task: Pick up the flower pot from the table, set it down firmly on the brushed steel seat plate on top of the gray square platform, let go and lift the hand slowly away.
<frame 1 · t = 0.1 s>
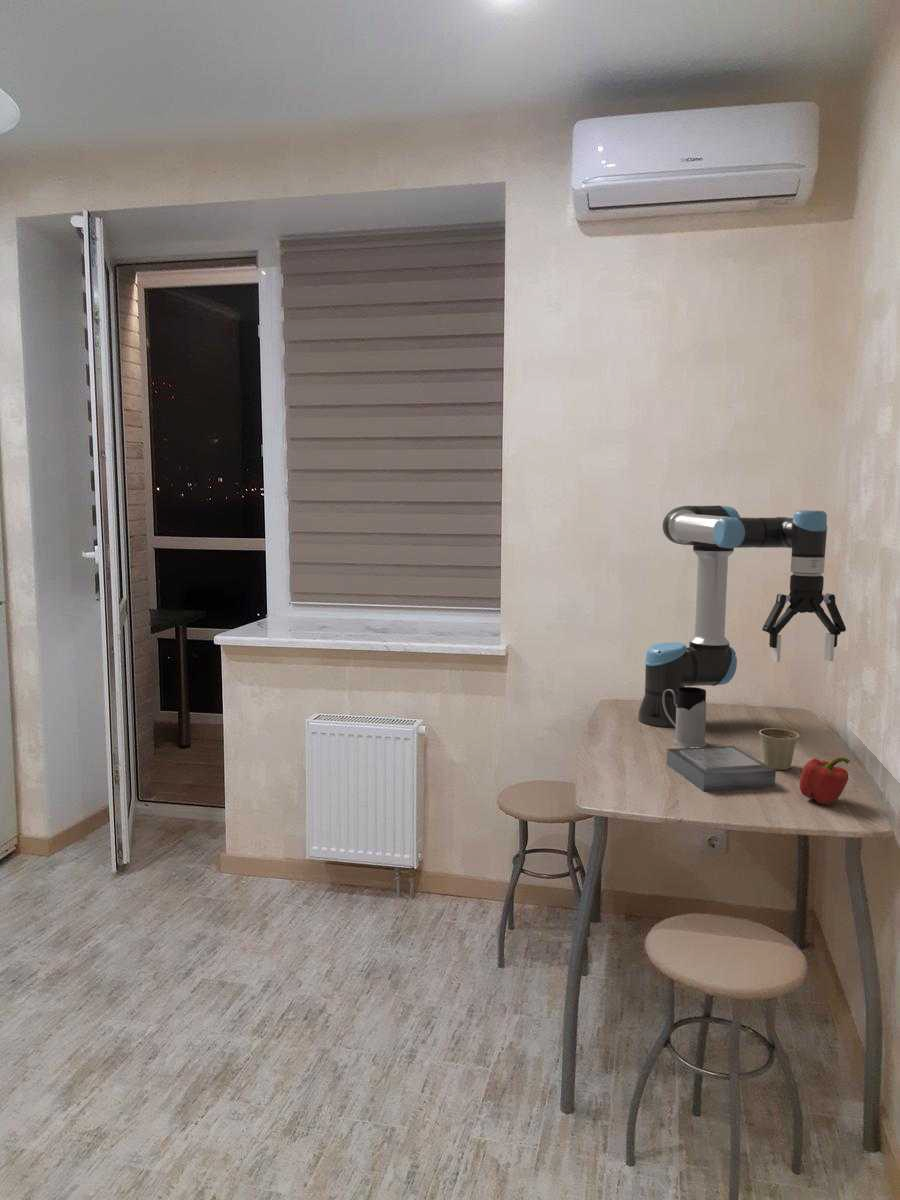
hand: (802, 660, 210), 28 cm above the table, tool pointing down, fingers open, 13 cm apart
gray square platform: (718, 775, 209), on the table
flower pot: (777, 767, 216), on the table
grey pitcher: (681, 741, 238), on the table
vegetable: (823, 801, 192), on the table
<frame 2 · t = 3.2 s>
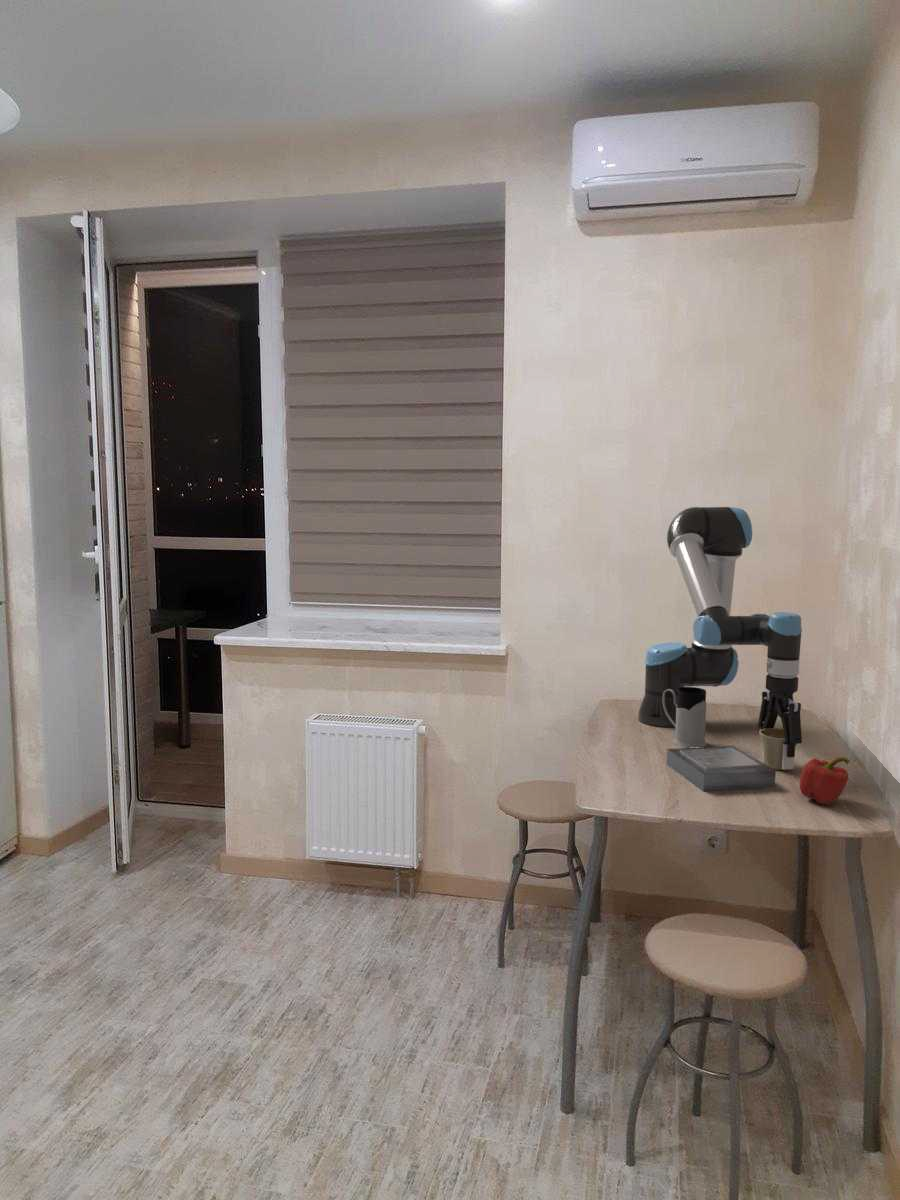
hand: (777, 763, 216), 1 cm above the table, tool pointing down, fingers closed on flower pot, 8 cm apart
flower pot: (777, 767, 216), on the table, touching gripper
everything else where it was.
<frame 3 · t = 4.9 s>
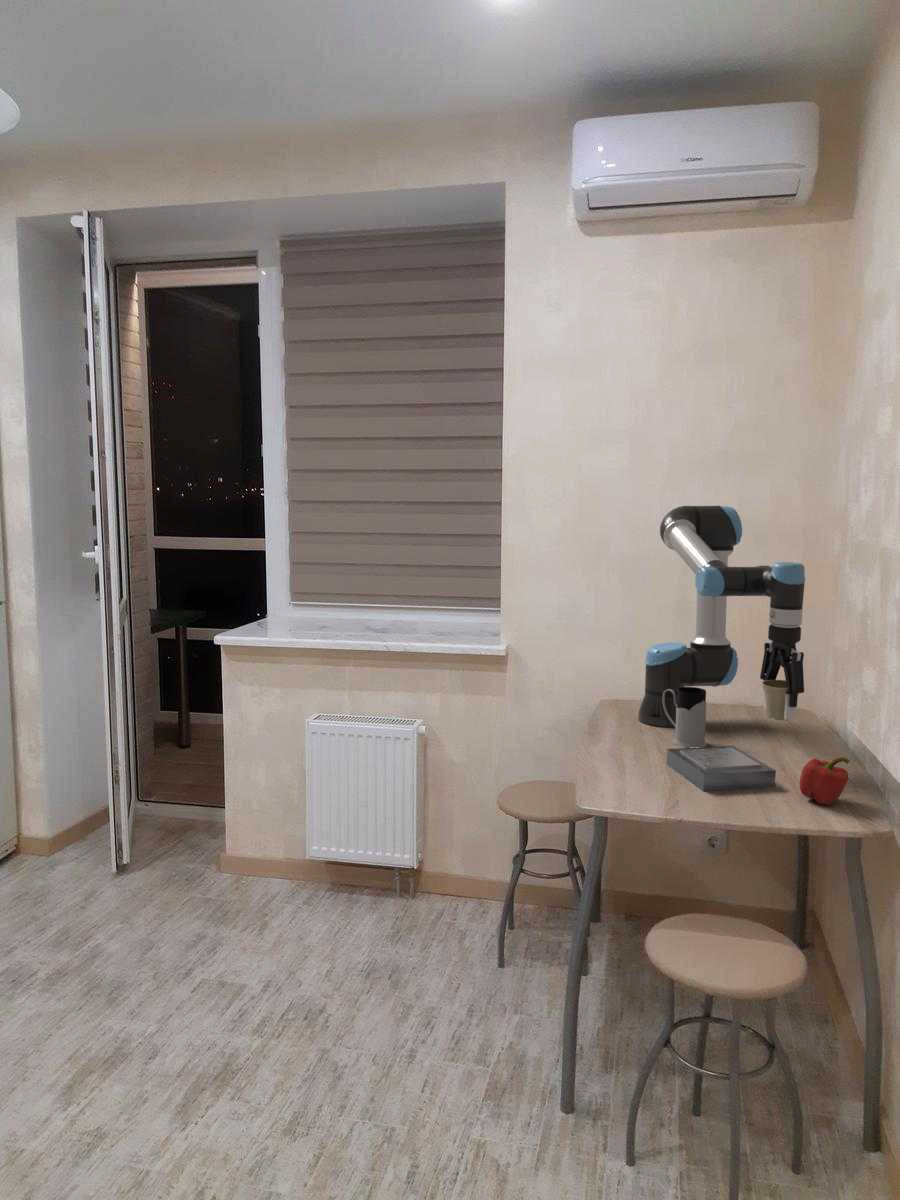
hand: (779, 714, 215), 13 cm above the table, tool pointing down, fingers closed on flower pot, 8 cm apart
flower pot: (779, 718, 215), point 12 cm above the table, touching gripper
everything else where it was.
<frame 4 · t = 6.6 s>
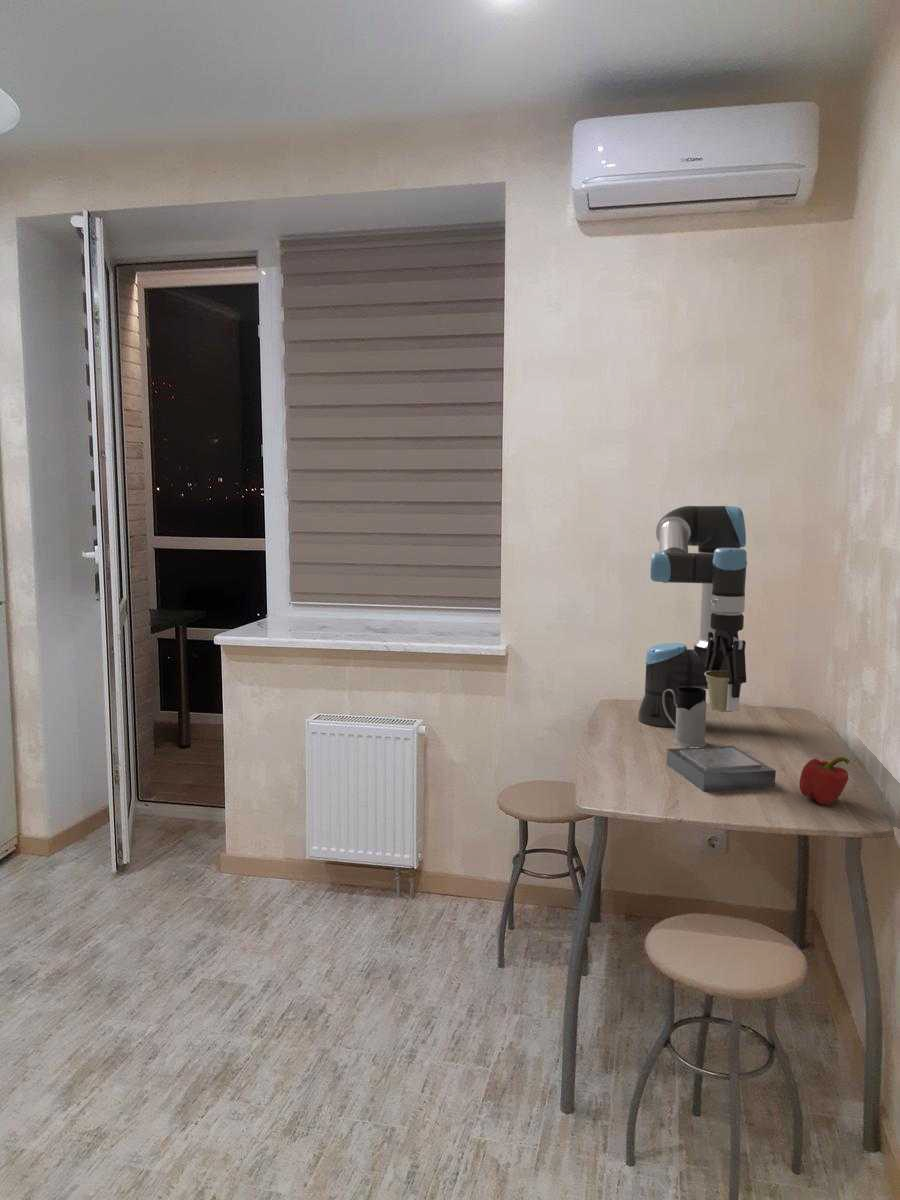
hand: (723, 705, 207), 17 cm above the table, tool pointing down, fingers closed on flower pot, 8 cm apart
flower pot: (723, 710, 207), point 16 cm above the table, touching gripper
everything else where it was.
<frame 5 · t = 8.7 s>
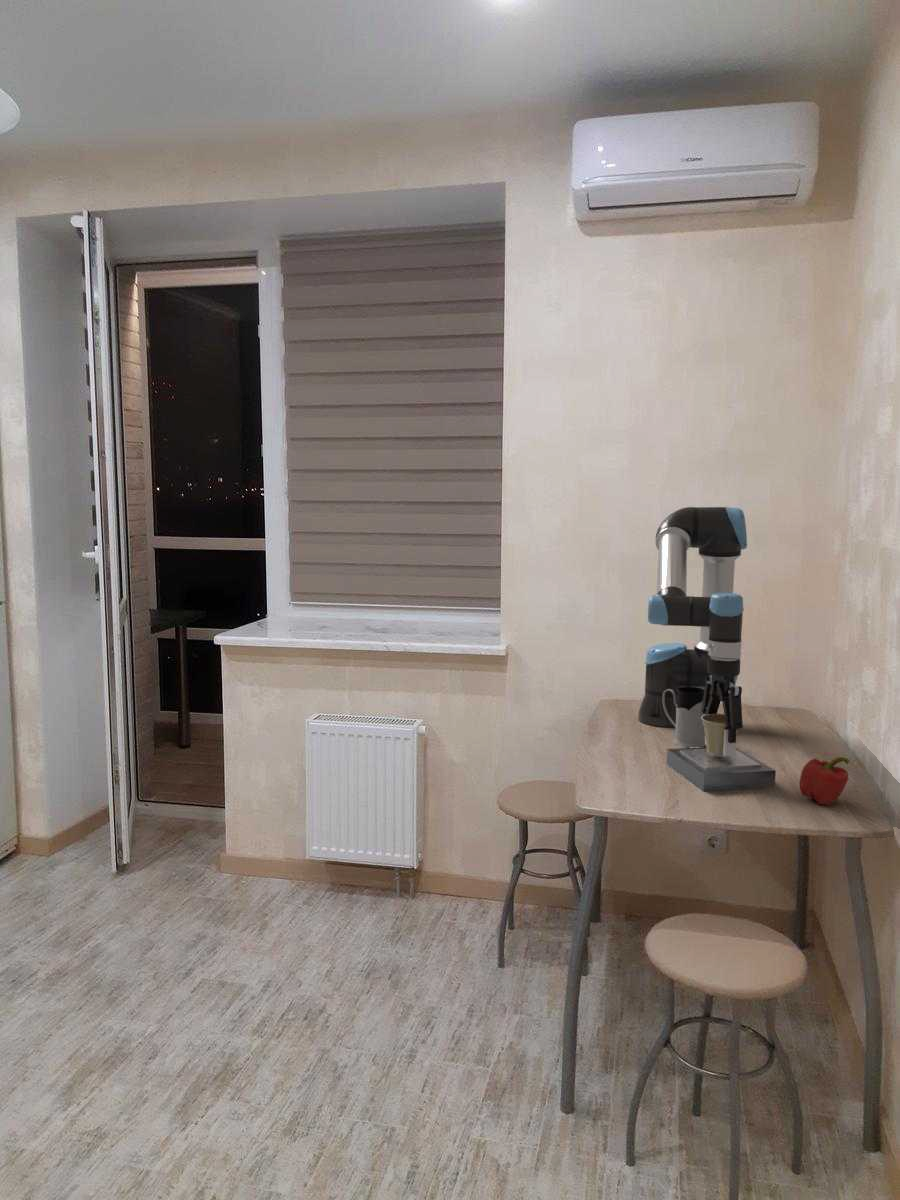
hand: (719, 749, 208), 6 cm above the table, tool pointing down, fingers closed on flower pot, 8 cm apart
flower pot: (719, 754, 208), point 5 cm above the table, touching gripper
everything else where it was.
when the fingers open (5 cm above the table, at t = 10.2 s): flower pot stays where it is, resting on gray square platform.
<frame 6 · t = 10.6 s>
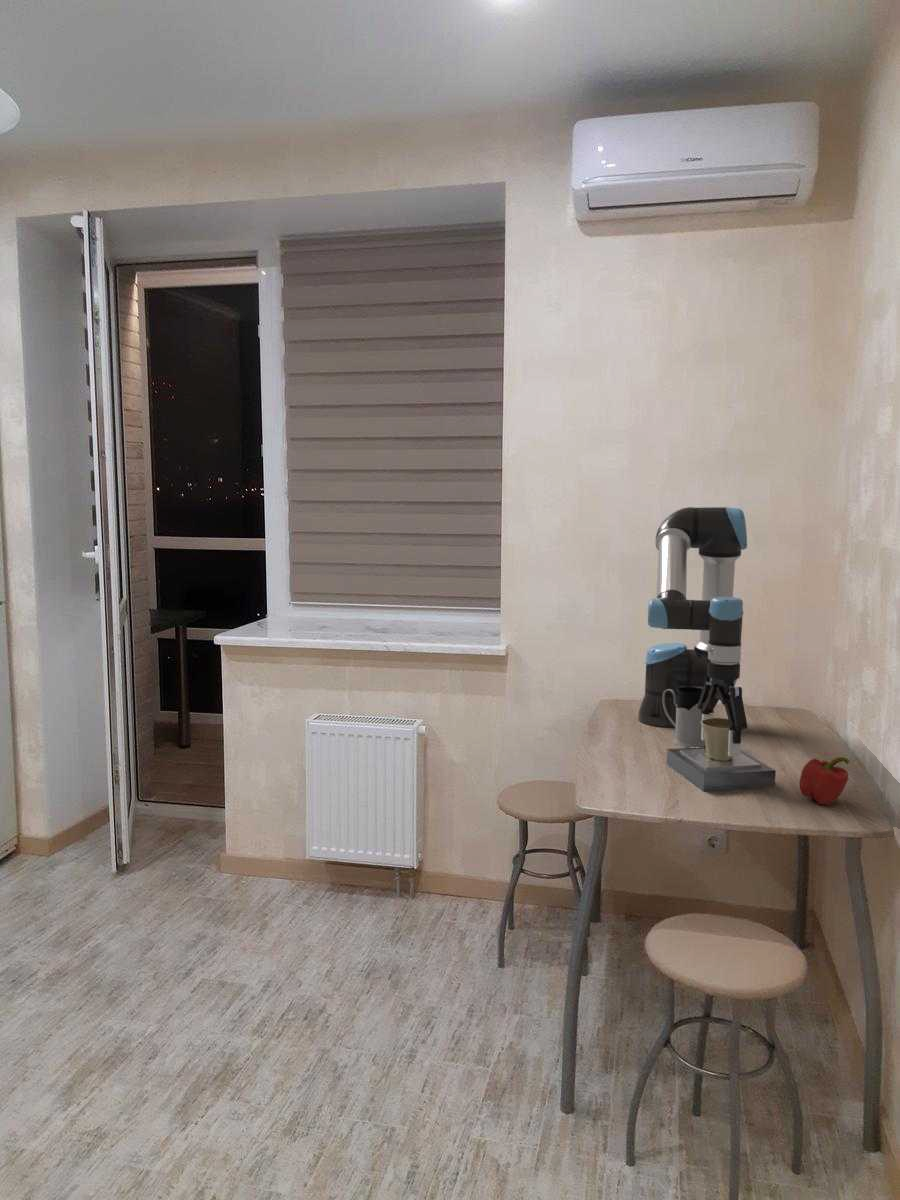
hand: (719, 747, 208), 7 cm above the table, tool pointing down, fingers open, 13 cm apart
flower pot: (719, 758, 208), point 4 cm above the table, touching gray square platform
everything else where it was.
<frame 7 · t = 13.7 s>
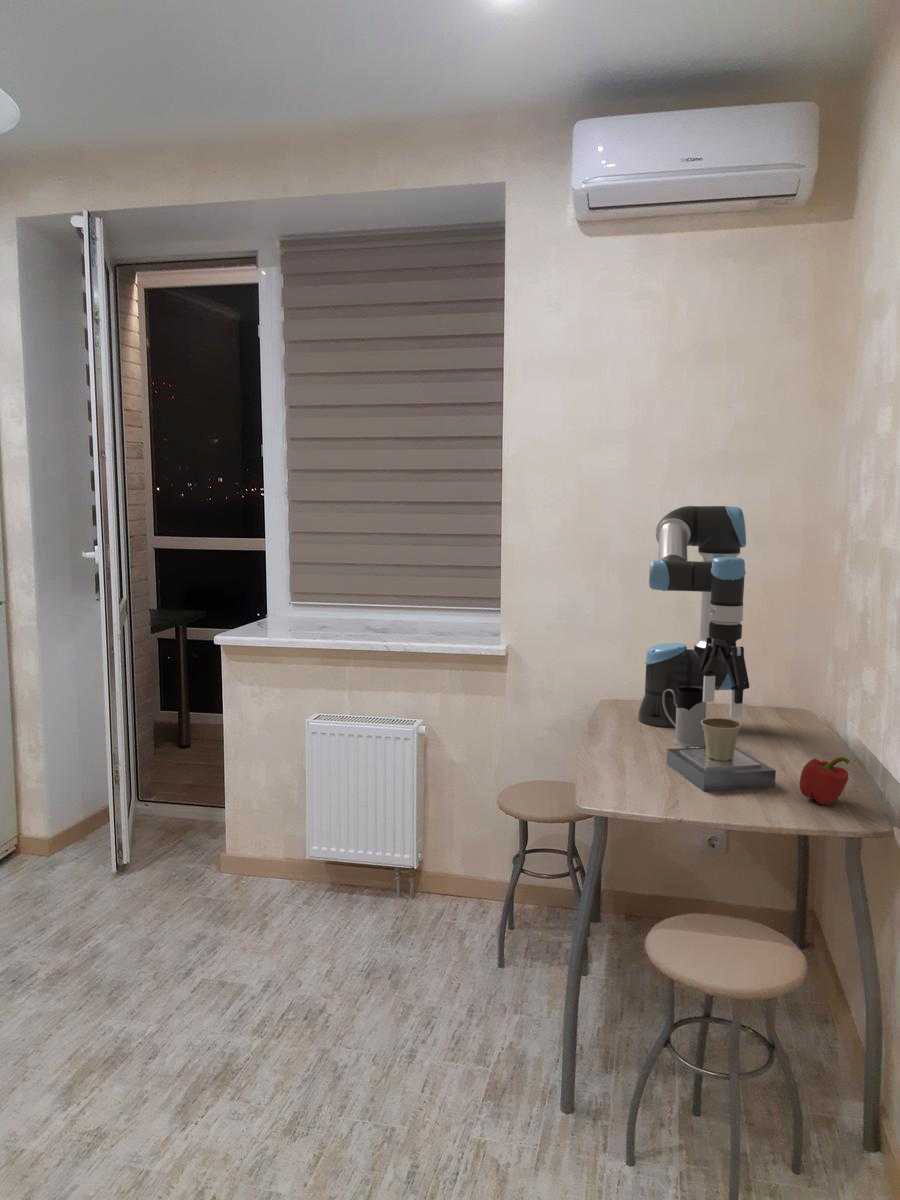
hand: (721, 708, 207), 17 cm above the table, tool pointing down, fingers open, 13 cm apart
nothing on the table moved.
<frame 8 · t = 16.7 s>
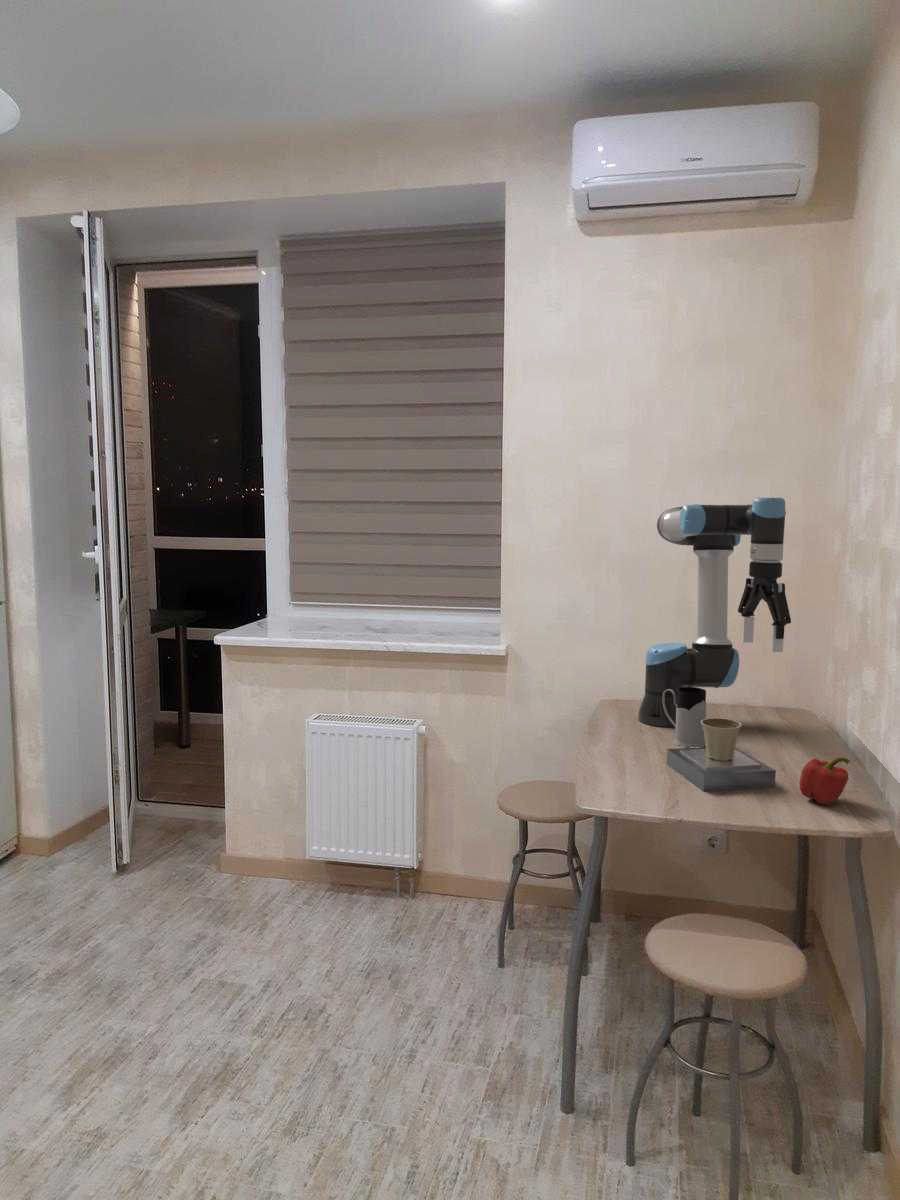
hand: (761, 647, 211), 31 cm above the table, tool pointing down, fingers open, 13 cm apart
nothing on the table moved.
at the end: flower pot inside the target area on the gray square platform (0.1 cm from its centre), point 4.3 cm above the gray square platform's base; flower pot tilted 0°; the gripper is holding nothing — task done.
